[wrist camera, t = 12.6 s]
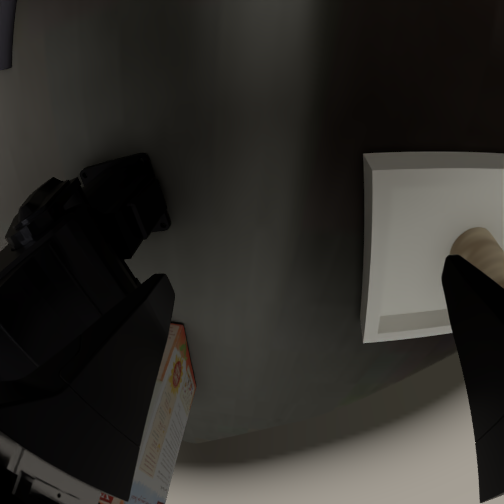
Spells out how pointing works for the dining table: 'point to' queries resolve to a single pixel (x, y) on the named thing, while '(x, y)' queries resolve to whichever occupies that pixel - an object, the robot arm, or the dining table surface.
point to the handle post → (481, 252)
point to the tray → (420, 234)
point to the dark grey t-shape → (6, 32)
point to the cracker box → (163, 424)
